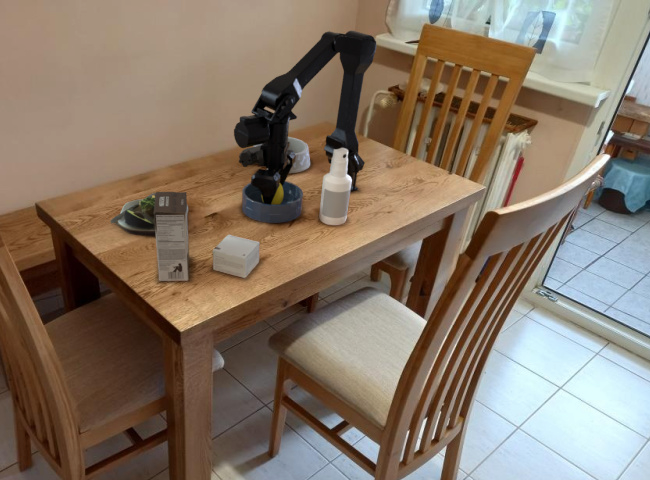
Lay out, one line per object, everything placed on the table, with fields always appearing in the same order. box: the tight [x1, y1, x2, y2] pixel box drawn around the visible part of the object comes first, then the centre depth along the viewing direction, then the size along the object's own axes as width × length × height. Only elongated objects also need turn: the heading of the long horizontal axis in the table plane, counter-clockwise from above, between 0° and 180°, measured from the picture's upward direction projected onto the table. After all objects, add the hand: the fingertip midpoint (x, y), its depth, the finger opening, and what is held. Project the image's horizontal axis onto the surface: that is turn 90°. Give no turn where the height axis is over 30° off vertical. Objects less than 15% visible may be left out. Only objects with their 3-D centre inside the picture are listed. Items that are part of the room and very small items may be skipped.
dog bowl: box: [252, 136, 311, 174], centre depth 172 cm, size 17×18×5 cm
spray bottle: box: [318, 148, 352, 226], centre depth 139 cm, size 7×7×18 cm
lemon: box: [262, 183, 284, 205], centre depth 145 cm, size 6×6×8 cm
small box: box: [212, 234, 261, 279], centre depth 124 cm, size 8×8×5 cm
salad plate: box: [109, 192, 189, 237], centre depth 141 cm, size 19×18×5 cm
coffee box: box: [154, 191, 190, 282], centre depth 119 cm, size 9×6×16 cm
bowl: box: [241, 180, 304, 224], centre depth 146 cm, size 15×15×5 cm
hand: (272, 199), depth 146 cm, fingers open, 9 cm apart
